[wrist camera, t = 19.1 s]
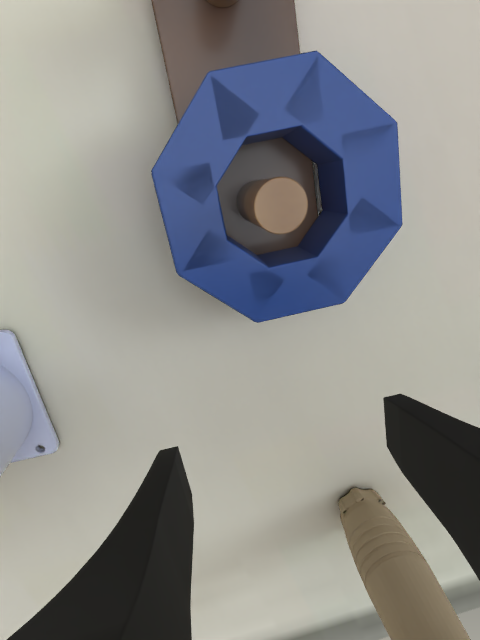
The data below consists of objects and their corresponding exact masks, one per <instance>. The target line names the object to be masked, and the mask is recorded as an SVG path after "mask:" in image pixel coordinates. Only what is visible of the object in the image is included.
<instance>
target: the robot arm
mask: <svg viewBox="0 0 480 640" xmlns="http://www.w3.org/2000/svg"><path fill="white" fill-rule="evenodd" d="M384 412H385V426H386V440H387V447H388V449H389V451H390V453H391V454H392V456H393V458H394V460H395V461H396V463H397V465H398V466H399V468H400V470H401V471H402V473H403V474H404V475H405V477H406V478H407V479H408V481H409V482H410V483H411V485H412V486H413V487H414V489H415V490H416V491H417V492H418V494H419V495H420V496H421V498H422V499H423V500H424V501H425V503H426V504H427V505H428V507H429V508H430V509H431V510H432V512H433V513H434V514H435V516H436V517H437V518H438V519H439V521H440V522H441V523H442V525H443V526H444V527H445V528H446V530H447V531H448V533H449V534H450V535H451V537H452V538H453V540H454V541H455V542H456V544H457V545H458V547H459V549H460V550H461V552H462V553H463V555H464V556H465V558H466V560H467V561H468V563H469V564H470V566H471V567H472V569H473V571H474V572H475V574H476V575H477V577H478V579H479V580H480V428H478V427H475V426H473V425H470V424H468V423H465V422H463V421H461V420H458V419H456V418H454V417H451V416H449V415H447V414H445V413H442V412H440V411H438V410H436V409H434V408H431V407H429V406H427V405H425V404H423V403H421V402H419V401H416V400H414V399H412V398H410V397H407V396H405V395H402V394H397V395H393V396H389V397H384ZM38 445H41V446H44V449H42V448H39V446H38ZM58 447H59V440H58V438H57V436H56V433H55V431H54V428H53V426H52V423H51V421H50V419H49V416H48V414H47V411H46V409H45V406H44V404H43V401H42V399H41V397H40V394H39V392H38V389H37V387H36V384H35V382H34V380H33V377H32V375H31V372H30V370H29V367H28V365H27V363H26V360H25V358H24V355H23V353H22V350H21V348H20V345H19V343H18V341H17V338H16V336H15V334H14V333H13V332H12V331H10V330H7V329H4V330H0V477H1V475H2V474H3V472H4V471H5V469H6V468H7V466H8V465H9V463H12V462H16V461H21V460H25V459H30V458H34V457H38V456H43V455H47V454H52V453H54V452H56V451H57V449H58ZM193 532H194V518H193V503H192V493H191V489H190V486H189V483H188V479H187V476H186V472H185V469H184V466H183V462H182V459H181V455H180V452H179V448H178V446H177V447H173V448H168V449H164V450H160V451H159V453H158V454H157V456H156V458H155V460H154V462H153V464H152V466H151V468H150V470H149V472H148V473H147V475H146V477H145V479H144V481H143V483H142V484H141V486H140V488H139V490H138V491H137V493H136V495H135V496H134V498H133V500H132V502H131V503H130V505H129V506H128V508H127V509H126V511H125V512H124V514H123V516H122V517H121V519H120V520H119V522H118V523H117V525H116V526H115V527H114V529H113V530H112V532H111V533H110V534H109V536H108V537H107V539H106V540H105V541H104V542H103V544H102V545H101V546H100V548H99V549H98V550H97V551H96V552H95V554H94V555H93V556H92V557H91V558H90V559H89V560H88V562H87V563H86V564H85V565H84V566H83V567H82V568H81V570H80V571H79V572H78V573H77V574H76V575H75V576H74V577H73V579H72V580H71V581H70V582H69V583H68V584H67V585H66V586H65V587H64V588H63V589H62V590H61V591H60V592H59V593H58V594H57V595H56V596H55V597H54V598H53V599H52V600H51V601H50V602H49V603H48V604H47V605H46V606H44V607H43V608H42V609H41V610H40V611H39V612H38V613H37V614H36V615H35V616H34V617H33V618H31V619H30V620H29V621H28V622H27V623H26V624H24V625H23V626H22V627H21V628H20V629H19V630H18V631H16V632H15V633H14V634H13V635H12V636H11V637H9V638H8V639H7V640H192V637H191V613H190V600H191V575H192V554H193Z"/></svg>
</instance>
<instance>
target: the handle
mask: <svg viewBox="0 0 480 640" xmlns="http://www.w3.org/2000/svg"><path fill="white" fill-rule="evenodd" d="M338 505H339V509H340V511H341V515H340V517H341V521H342V524H343V527H344V530H345V534H346V538H347V542H348V545H349V548H350V550H351V553H352V556H353V558H354V561H355V564H356V567H357V569H358V571H359V574H360V576H361V578H362V581H363V583H364V585H365V588H366V590H367V592H368V595H369V597H370V599H371V601H372V603H373V605H374V607H375V609H376V611H377V613H378V615H379V617H380V619H381V620H382V622H383V624H384V626H385V628H386V630H387V632H388V634H389V636H390V638H391V640H470V638H469V636H468V634H467V633H466V631H465V630H464V627H463V625H462V624H461V622H460V620H459V619H458V616H457V615H456V613H455V611H454V609H453V608H452V606H451V604H450V602H449V600H448V599H447V597H446V595H445V593H444V591H443V590H442V588H441V586H440V584H439V583H438V581H437V579H436V577H435V575H434V574H433V572H432V570H431V568H430V566H429V565H428V563H427V562H426V560H425V559H424V557H423V556H422V554H421V553H420V551H419V549H418V548H417V546H416V545H415V543H414V542H413V540H412V539H411V537H410V536H409V535H408V533H407V532H406V530H405V529H404V528H403V526H402V525H401V523H400V522H399V521H398V520H397V518H396V517H395V516H394V515H393V513H392V512H391V511H390V510H389V509H388V508H387V507H386V506H384V505H385V502H384V501H383V499H382V498H381V497H380V496H379V494H378V493H377V492H376V491H374V490H372V489H369V490H362V489H358V488H357V487H356V488H353V489H351V490H350V492H349V493H348V494H347V495H346V496H344V497H341V499H340V500H339V503H338Z"/></svg>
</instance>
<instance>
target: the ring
mask: <svg viewBox="0 0 480 640" xmlns="http://www.w3.org/2000/svg"><path fill="white" fill-rule="evenodd" d="M280 137H283V138H284V139H285V140H286V141H288V142H289V143H290V144H291V145H293V146H294V147H295V148H297V149H298V150H299V151H300V152H302V153H303V154H304V155H305V156H307V157H308V158H309V159H310V160H312V161H313V162H314V163H316V164H317V169H318V177H319V186H320V194H321V203H322V212H321V213H320V215H319V216H318V218H317V219H316V220H315V222H314V223H313V225H312V226H311V228H310V229H309V231H308V232H307V233H306V235H305V236H304V238H303V239H302V241H301V242H300V244H299V245H298V246H296V247H292V248H287V249H283V250H278V251H273V252H269V253H264V254H260V255H256V254H255V253H253V252H252V251H250V250H249V249H247V248H246V247H244V246H243V245H241V244H240V243H238V242H237V241H235V240H234V239H232V238H231V237H229V236H228V235H227V234H226V229H225V225H224V220H223V215H222V210H221V205H220V200H219V195H218V190H217V185H218V183H219V181H220V180H221V178H222V176H223V175H224V173H225V172H226V170H227V168H228V167H229V165H230V164H231V162H232V160H233V159H234V157H235V155H236V154H237V152H238V151H239V149H240V147H241V146H242V145H246V144H251V143H256V142H261V141H266V140H271V139H275V138H280ZM151 172H152V178H153V182H154V186H155V190H156V194H157V198H158V202H159V206H160V210H161V214H162V218H163V221H164V225H165V229H166V233H167V237H168V241H169V245H170V249H171V253H172V257H173V261H174V264H175V268H176V272H177V274H178V275H179V276H180V277H182V278H184V279H185V280H187V281H189V282H190V283H192V284H194V285H195V286H197V287H198V288H200V289H202V290H203V291H205V292H207V293H208V294H210V295H212V296H213V297H215V298H217V299H218V300H220V301H221V302H223V303H225V304H226V305H228V306H230V307H231V308H233V309H235V310H236V311H238V312H239V313H241V314H243V315H244V316H246V317H248V318H249V319H251V320H253V321H254V322H263V321H267V320H272V319H276V318H280V317H285V316H289V315H294V314H298V313H302V312H307V311H311V310H316V309H320V308H325V307H329V306H333V305H338V304H342V303H344V302H345V301H346V300H347V299H348V297H349V296H350V295H351V293H352V292H353V291H354V289H355V288H356V287H357V285H358V284H359V283H360V281H361V280H362V279H363V277H364V276H365V275H366V273H367V272H368V271H369V269H370V268H371V266H372V265H373V264H374V262H375V261H376V260H377V258H378V257H379V256H380V254H381V253H382V252H383V250H384V249H385V248H386V246H387V245H388V244H389V242H390V241H391V240H392V238H393V237H394V236H395V234H396V233H397V232H398V230H399V229H400V228H401V226H402V208H401V188H400V168H399V148H398V128H397V122H396V121H395V120H394V119H393V118H392V117H391V116H390V115H388V114H387V113H386V112H385V111H384V110H383V109H382V108H381V107H379V106H378V105H377V104H376V103H375V102H374V101H373V100H372V99H371V98H369V97H368V96H367V95H366V94H365V93H364V92H363V91H362V90H360V89H359V88H358V87H357V86H356V85H355V84H354V83H353V82H351V81H350V80H349V79H348V78H347V77H346V76H345V75H344V74H342V73H341V72H340V71H339V70H338V69H337V68H336V67H335V66H334V65H332V64H331V63H330V62H329V61H328V60H327V59H326V58H325V57H323V56H322V55H321V54H320V53H319V52H317V51H312V52H307V53H302V54H297V55H291V56H286V57H281V58H276V59H271V60H265V61H260V62H255V63H250V64H245V65H239V66H234V67H229V68H224V69H219V70H213V71H209V72H208V73H207V74H206V76H205V78H204V80H203V81H202V83H201V85H200V87H199V88H198V90H197V92H196V94H195V95H194V97H193V99H192V101H191V102H190V104H189V106H188V108H187V109H186V111H185V113H184V115H183V116H182V118H181V120H180V122H179V123H178V125H177V127H176V129H175V130H174V132H173V134H172V136H171V137H170V139H169V141H168V143H167V144H166V146H165V148H164V149H163V151H162V153H161V155H160V156H159V158H158V160H157V162H156V163H155V165H154V167H153V169H152V170H151Z"/></svg>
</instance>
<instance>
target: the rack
mask: <svg viewBox="0 0 480 640" xmlns="http://www.w3.org/2000/svg"><path fill="white" fill-rule="evenodd" d="M151 1H152V6H153V10H154V15H155V20H156V24H157V29H158V34H159V38H160V43H161V48H162V52H163V57H164V62H165V66H166V71H167V76H168V81H169V85H170V90H171V95H172V99H173V104H174V109H175V113H176V118H177V123H179V122H180V120H181V118H182V116H183V115H184V113H185V111H186V109H187V108H188V106H189V104H190V102H191V101H192V99H193V97H194V95H195V94H196V92H197V90H198V88H199V87H200V85H201V83H202V81H203V80H204V78H205V76H206V74H207V73H208V72H209V71H213V70H219V69H224V68H229V67H234V66H239V65H245V64H250V63H255V62H260V61H265V60H271V59H276V58H281V57H286V56H291V55H297V54H300V49H299V39H298V30H297V21H296V12H295V3H294V0H151ZM217 190H218V195H219V200H220V205H221V210H222V215H223V220H224V225H225V229H226V234H227V235H228V236H229V237H231V238H232V239H234V240H235V241H237V242H238V243H240V244H241V245H243V246H244V247H246V248H247V249H249V250H250V251H252V252H253V253H255V254H256V255H260V254H264V253H269V252H273V251H278V250H283V249H287V248H292V247H296V246H298V245H299V244H300V242H301V241H302V239H303V238H304V236H305V235H306V233H307V232H308V231H309V229H310V228H311V226H312V225H313V223H314V222H315V220H316V219H317V218H318V212H317V203H316V194H315V185H314V175H313V166H312V160H310V159H309V158H308V157H307V156H305V155H304V154H303V153H302V152H300V151H299V150H298V149H297V148H295V147H294V146H293V145H291V144H290V143H289V142H288V141H286V140H285V139H284V138H283V137H280V138H275V139H271V140H266V141H261V142H256V143H251V144H246V145H242V146H241V147H240V149H239V151H238V152H237V154H236V155H235V157H234V159H233V160H232V162H231V164H230V165H229V167H228V168H227V170H226V172H225V173H224V175H223V176H222V178H221V180H220V181H219V183H218V185H217Z"/></svg>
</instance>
